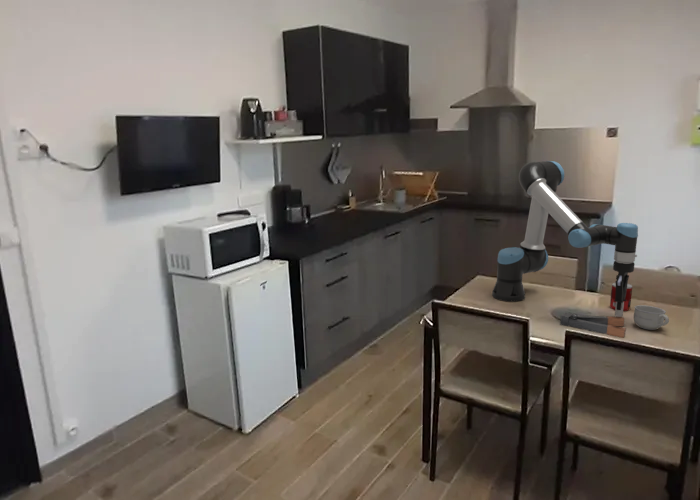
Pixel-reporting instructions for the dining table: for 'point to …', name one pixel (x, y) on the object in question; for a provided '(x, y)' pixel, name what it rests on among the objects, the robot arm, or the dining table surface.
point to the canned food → (628, 298)
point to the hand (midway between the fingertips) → (618, 316)
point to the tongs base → (592, 326)
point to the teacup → (650, 317)
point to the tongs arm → (601, 319)
